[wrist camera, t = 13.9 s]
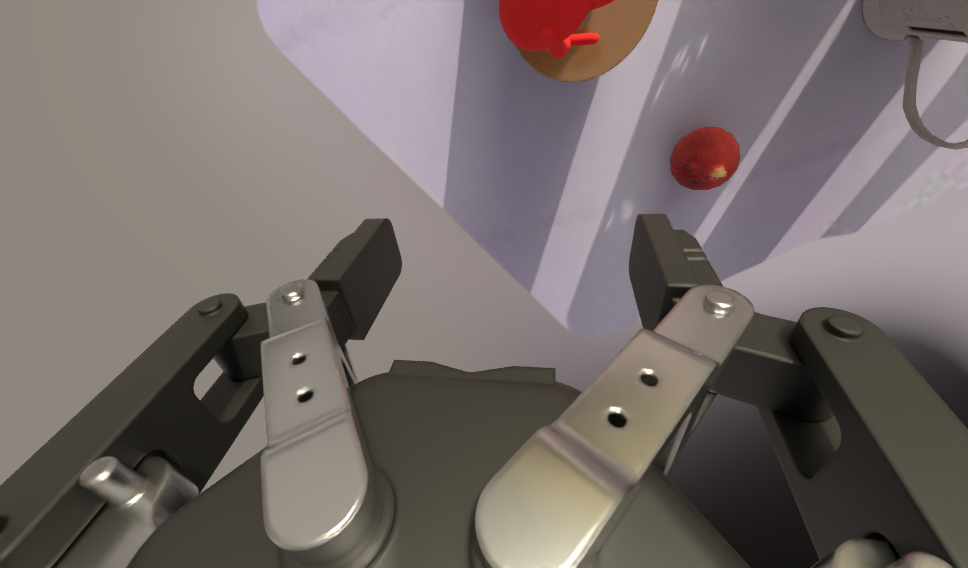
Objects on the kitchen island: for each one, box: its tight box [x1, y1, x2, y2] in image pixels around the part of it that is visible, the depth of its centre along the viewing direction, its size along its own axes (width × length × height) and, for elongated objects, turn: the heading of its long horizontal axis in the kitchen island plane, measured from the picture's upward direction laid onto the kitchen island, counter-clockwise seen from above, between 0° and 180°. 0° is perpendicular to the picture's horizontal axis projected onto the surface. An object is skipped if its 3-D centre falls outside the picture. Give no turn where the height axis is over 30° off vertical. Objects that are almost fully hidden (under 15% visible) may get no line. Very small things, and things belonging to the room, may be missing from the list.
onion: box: [670, 127, 740, 190], centre depth 36 cm, size 6×6×8 cm
